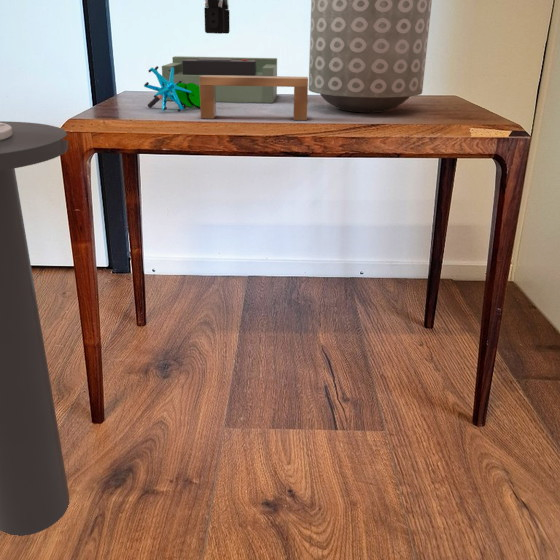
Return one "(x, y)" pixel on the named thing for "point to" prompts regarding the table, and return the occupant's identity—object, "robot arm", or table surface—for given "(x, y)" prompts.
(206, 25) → the robot arm
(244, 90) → the sofa
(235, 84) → the wooden bench stand
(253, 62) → the bar
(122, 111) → the table surface
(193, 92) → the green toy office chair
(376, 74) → the planter
